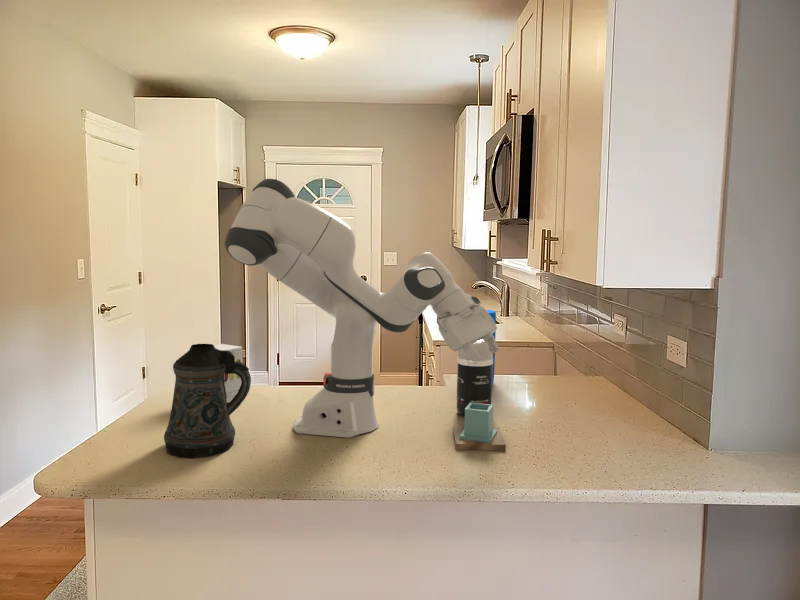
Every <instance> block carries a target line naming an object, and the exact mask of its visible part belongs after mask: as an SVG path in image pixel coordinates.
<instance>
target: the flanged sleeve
mask: <svg viewBox="0 0 800 600" xmlns="http://www.w3.org/2000/svg"><path fill="white" fill-rule="evenodd" d="M493 425H494V404H491V405H490V404H481V403H471V402H470V403H469V404H468V406H467V407H466V408H465V416H464V426H463V428H464V430H463V432H462V433H461V434H460V436H459V439H463V440H471V441H479V442H487V443H492V441H493V439H494V437H495V435H496V434H497V430H496V429H493V428H494V426H493Z"/></svg>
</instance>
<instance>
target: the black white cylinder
mask: <svg viewBox="0 0 800 600" xmlns="http://www.w3.org/2000/svg"><path fill="white" fill-rule="evenodd" d="M472 345H473V346H472V347H473V348H474V349H475V350H476V351H477V352H480V353H481V355H482V356H483V358H482V359H481V360H480V361H478V362H475V361H474V360H473V359H472V357H471V356H469V355H468V354H466V353H465V352H464V351H463V349H462V348H461V349H459V350H457V358H456V363H457V366H456V367H457V372H456V373H457V376H456V377H457V378H456V411H457V413H458V414H459V415H460V416H463V417H465V408H466V407H467V406H468V404H469V403H470V402H471V403H481V404H490V405H492V394H493V393H492V392H493V391H492V390H493V384H492V364H493V353H492V352H491V351H490V350H489V348H490V347H489V345H488V343H487V342H485V340H484V339H481V340H479V341H477V342H475V343H472Z"/></svg>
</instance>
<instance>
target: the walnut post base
mask: <svg viewBox="0 0 800 600" xmlns="http://www.w3.org/2000/svg"><path fill="white" fill-rule="evenodd" d="M493 429H496V430H497V434H496V435H495V437H494V439H493V441H492V443H487V442H479V441H471V440H463V439H459V436H460V434H461V433H462V432H463V430H464V427H452V435H453V436H452V437H453V440H454V447H455V451H497V452H499V451H501V452H505V451H506V450H507V449H506V447H507V445H506V442H505V439H504V437H503V434H502V432H501V429H500V428H497V427H495V428H494V427H493ZM506 452H507V451H506Z"/></svg>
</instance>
